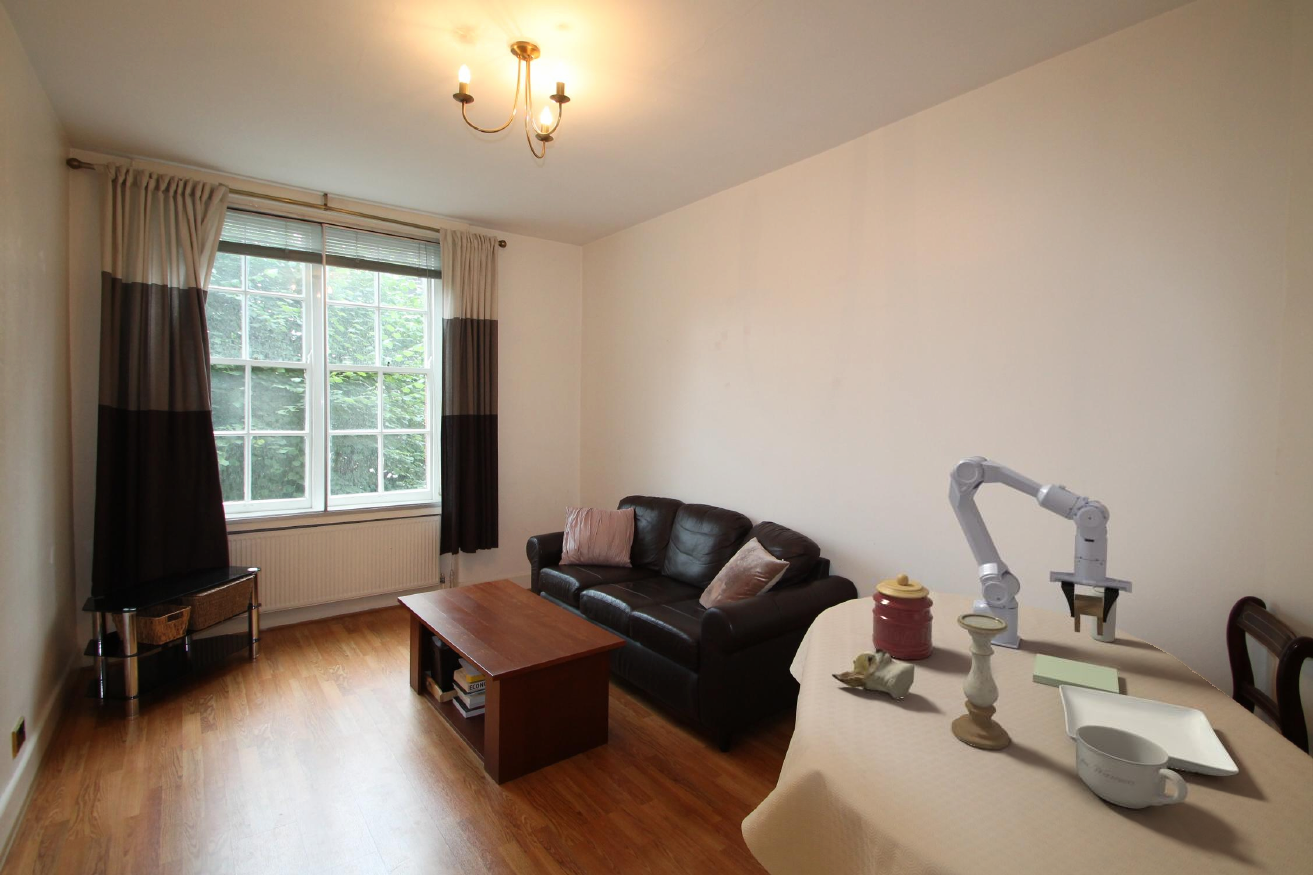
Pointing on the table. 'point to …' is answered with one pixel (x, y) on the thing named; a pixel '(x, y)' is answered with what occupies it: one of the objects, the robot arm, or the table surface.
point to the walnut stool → (1088, 610)
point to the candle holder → (981, 685)
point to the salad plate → (1151, 727)
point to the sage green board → (1074, 674)
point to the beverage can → (1108, 626)
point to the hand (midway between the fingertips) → (1088, 618)
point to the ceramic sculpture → (879, 674)
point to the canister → (902, 618)
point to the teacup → (1125, 767)
